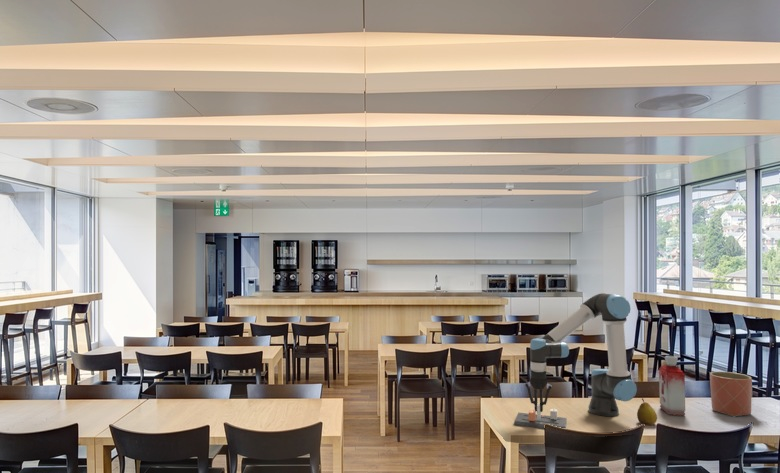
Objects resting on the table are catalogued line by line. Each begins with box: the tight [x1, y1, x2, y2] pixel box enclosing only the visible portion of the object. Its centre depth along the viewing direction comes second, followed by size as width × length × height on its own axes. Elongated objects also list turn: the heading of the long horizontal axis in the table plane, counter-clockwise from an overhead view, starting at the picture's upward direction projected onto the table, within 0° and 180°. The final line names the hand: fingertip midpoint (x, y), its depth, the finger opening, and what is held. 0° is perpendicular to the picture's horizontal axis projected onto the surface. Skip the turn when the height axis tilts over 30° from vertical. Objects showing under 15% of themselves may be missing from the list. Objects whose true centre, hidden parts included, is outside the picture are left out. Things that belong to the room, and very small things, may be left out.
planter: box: [709, 371, 753, 417], centre depth 275 cm, size 19×19×20 cm
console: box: [514, 412, 568, 429], centre depth 254 cm, size 24×15×2 cm, turn 69°
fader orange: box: [528, 410, 537, 421], centre depth 252 cm, size 3×4×4 cm
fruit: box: [636, 397, 658, 426], centre depth 255 cm, size 9×9×12 cm
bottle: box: [658, 355, 686, 417], centre depth 275 cm, size 14×10×30 cm
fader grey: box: [549, 408, 558, 420], centre depth 255 cm, size 3×4×4 cm
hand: (538, 418), depth 251 cm, fingers closed
